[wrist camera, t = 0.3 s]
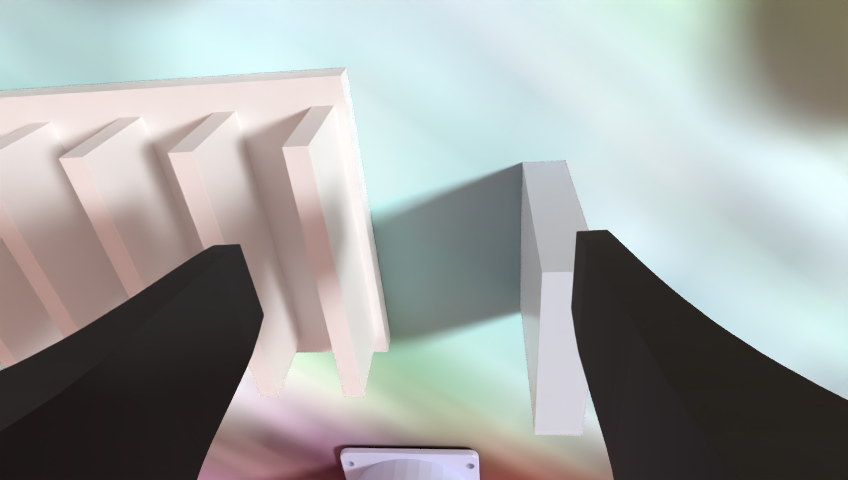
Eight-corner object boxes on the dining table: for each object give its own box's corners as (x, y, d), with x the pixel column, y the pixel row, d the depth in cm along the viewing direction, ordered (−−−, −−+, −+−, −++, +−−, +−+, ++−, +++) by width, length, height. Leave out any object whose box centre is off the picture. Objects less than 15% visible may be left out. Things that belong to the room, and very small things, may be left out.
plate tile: (555, 302, 24) (582, 435, 18) (519, 302, 24) (534, 434, 18) (565, 160, 20) (602, 271, 14) (522, 162, 20) (542, 272, 14)
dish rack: (390, 337, 26) (376, 413, 22) (88, 339, 28) (27, 410, 24) (346, 67, 19) (314, 112, 15) (-58, 94, 20) (-176, 140, 17)
